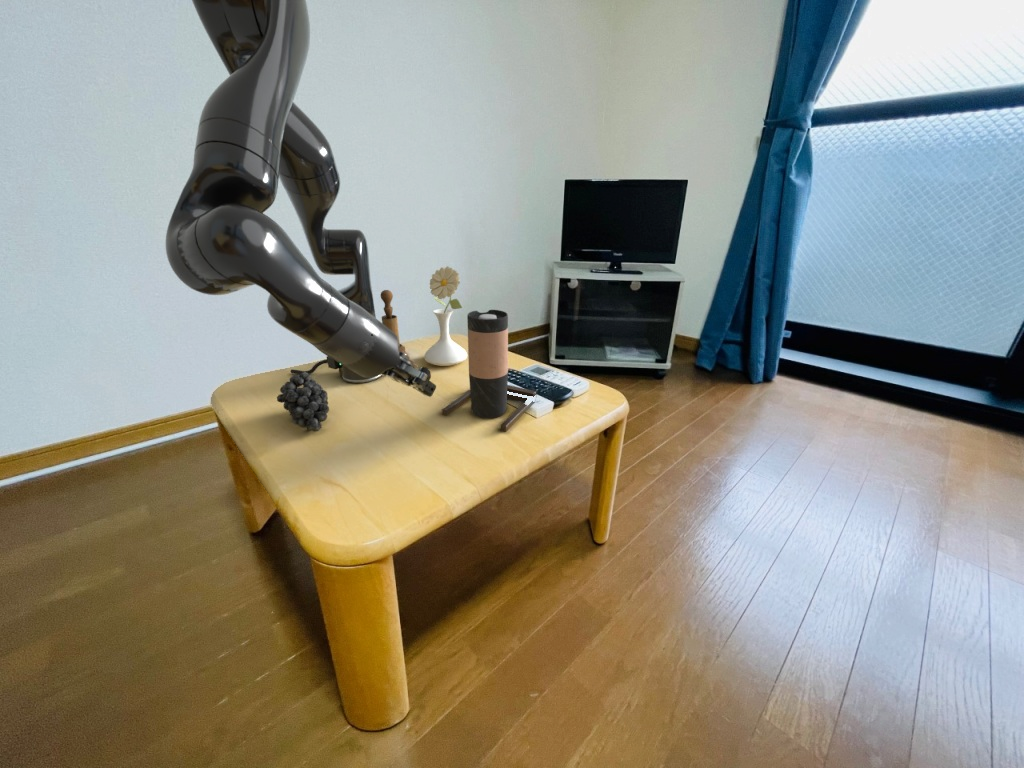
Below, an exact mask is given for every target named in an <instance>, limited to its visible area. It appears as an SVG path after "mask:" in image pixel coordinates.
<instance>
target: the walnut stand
mask: <svg viewBox="0 0 1024 768" xmlns="http://www.w3.org/2000/svg"><path fill="white" fill-rule="evenodd" d="M507 391H509V392H513V393H518V394H522V395H527V396H533V397H534V396H535V395H536V396H537V390H532V389H528V388H523V387H519V386H515V385H510V384H507ZM507 399H509V400H514V401H519V402H522V403H521V405H519V407H518V408H516V409H515V411H513V412H512V413H511V414H510V415H509V416H508V417H507V418H505V420H504V421H503V422H501V424H500V431H502V432H504V433H507V432H508V430H509V429H511V428H512V426H514V424H515V423H516V422H517V421H518V420H519V419H520V418H521V417H522V416H523V415H524V414H525V413H526V412H527V411H528V410H529V409H530V408H531V407H533V405H534V404H535V403H536V402H533V401H532V402H531V403H530V404H529V405H528V406H527V405H525V404H523V403H524V402H525V401H526V400H527V398H522V397H518V396H513V395H509V394H507ZM469 400H471V395H470V389H468V390H467V391H466V392H464V393H463V394H461V395H460V396H459V397H457V398H455V399H454V400H453V401H451V402H450V403H448V404H447V405H446V406H444V407H443V408H442V409H441V415H443V416H446V417H447V416H449V415H450V414H451V413H453V412H455V410H457V409H458V408H459V407H460V406H462V405H463V404H465V403H466V402H468V401H469Z"/></svg>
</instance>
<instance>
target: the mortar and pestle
mask: <svg viewBox="0 0 1024 768" xmlns="http://www.w3.org/2000/svg"><path fill="white" fill-rule="evenodd" d="M393 295H394V294H393V292H392V291H391V290H389V289H384V290H382V291H380V299H381V301H382V302H383V303H384V307H383V311H384V314H385V315H382V316H381V323H382V324H384V325H385V326H386V327H387V328H389V329H390V330H391V331H392V332H394V333H395V334H396V336H397V338H398V341H399V351H400V352H403V353H404V354H406V355H407V352H406V347H405V345H403V344H401V343H400V335H399V323H398V316H397V315H396V314H393V310H394V309H393V308H394V307H393V306H392V305H391V302H392V300H393V299H394V296H393Z"/></svg>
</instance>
